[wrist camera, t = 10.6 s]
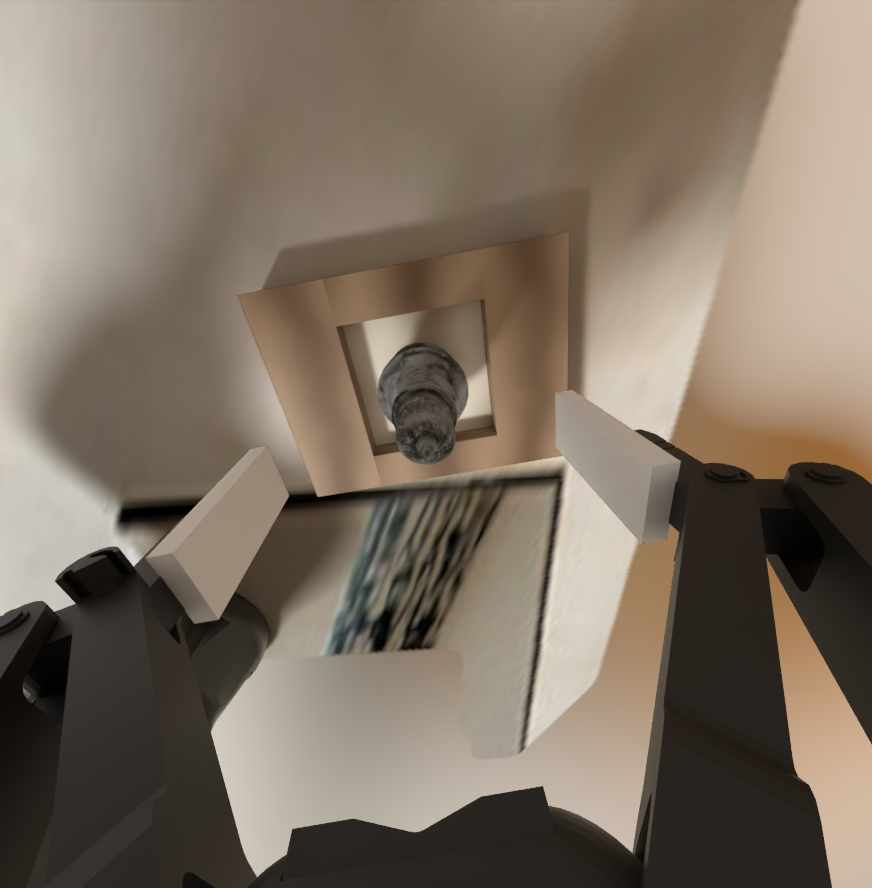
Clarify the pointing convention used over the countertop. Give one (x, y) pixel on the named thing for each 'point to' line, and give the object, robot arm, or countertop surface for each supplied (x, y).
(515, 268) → the wooden frame
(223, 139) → the countertop surface
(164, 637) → the robot arm
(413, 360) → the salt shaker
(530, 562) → the countertop surface
